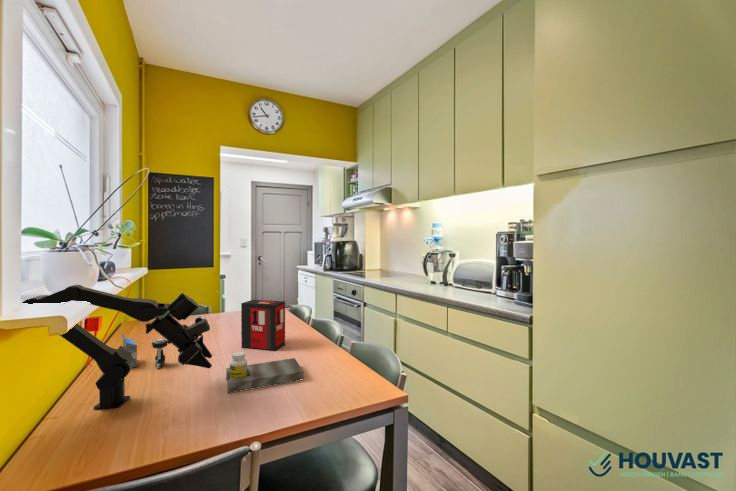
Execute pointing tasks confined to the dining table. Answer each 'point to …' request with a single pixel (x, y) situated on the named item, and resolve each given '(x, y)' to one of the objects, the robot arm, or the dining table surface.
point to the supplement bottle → (238, 365)
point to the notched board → (266, 375)
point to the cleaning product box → (263, 325)
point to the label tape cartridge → (130, 348)
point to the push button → (159, 351)
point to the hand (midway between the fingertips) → (211, 361)
